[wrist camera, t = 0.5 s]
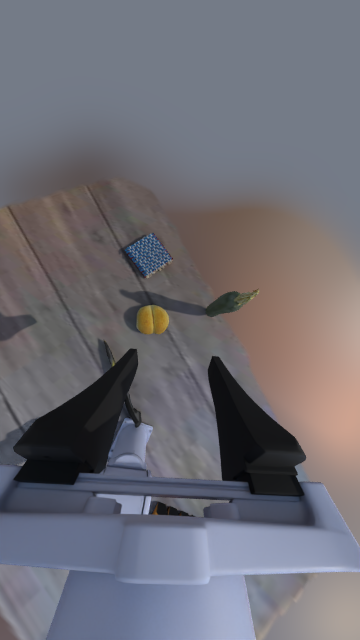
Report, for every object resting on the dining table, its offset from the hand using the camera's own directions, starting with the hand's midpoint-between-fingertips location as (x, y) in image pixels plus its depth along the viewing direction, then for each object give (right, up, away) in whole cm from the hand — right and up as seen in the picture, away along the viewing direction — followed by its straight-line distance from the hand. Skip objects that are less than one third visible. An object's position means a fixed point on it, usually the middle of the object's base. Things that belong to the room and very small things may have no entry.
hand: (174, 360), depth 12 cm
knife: (-15, -12, +23) cm, 30 cm away
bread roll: (-8, +4, +25) cm, 27 cm away
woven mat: (-9, +23, +27) cm, 36 cm away
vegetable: (+9, +7, +29) cm, 31 cm away
